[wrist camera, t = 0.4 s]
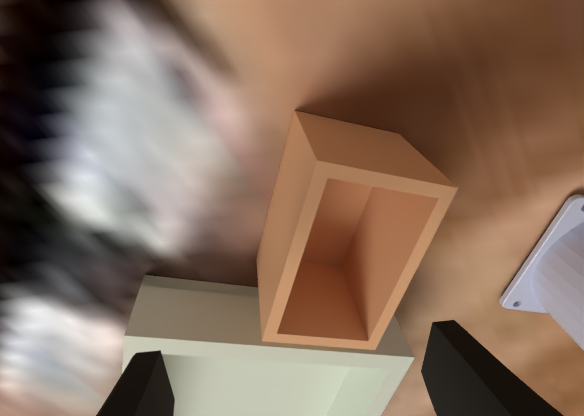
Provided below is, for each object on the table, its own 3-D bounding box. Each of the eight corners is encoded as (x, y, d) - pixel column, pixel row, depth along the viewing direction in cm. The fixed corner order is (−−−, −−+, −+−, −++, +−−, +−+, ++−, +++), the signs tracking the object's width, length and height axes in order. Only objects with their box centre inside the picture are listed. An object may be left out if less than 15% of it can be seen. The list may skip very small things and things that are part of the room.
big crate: (388, 301, 23) (414, 357, 19) (315, 449, 30) (325, 509, 27) (144, 274, 20) (124, 335, 16) (129, 447, 27) (113, 514, 24)
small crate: (398, 133, 17) (458, 187, 13) (344, 269, 21) (375, 350, 16) (294, 110, 16) (317, 160, 12) (256, 257, 20) (261, 341, 15)
